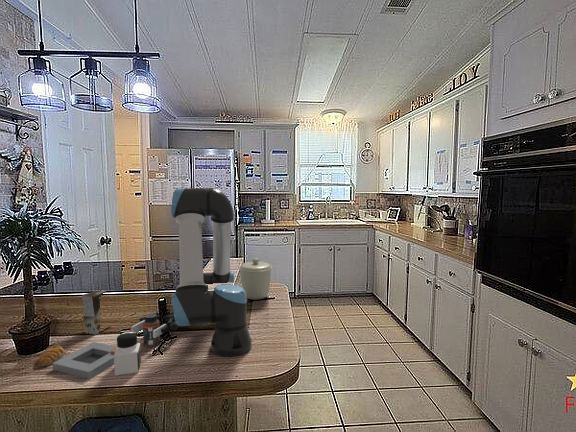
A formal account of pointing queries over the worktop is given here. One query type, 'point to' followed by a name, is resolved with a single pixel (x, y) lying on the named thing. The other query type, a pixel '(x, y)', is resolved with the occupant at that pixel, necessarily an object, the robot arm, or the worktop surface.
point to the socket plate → (87, 360)
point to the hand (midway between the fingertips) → (142, 332)
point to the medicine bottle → (127, 354)
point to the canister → (256, 278)
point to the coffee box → (92, 311)
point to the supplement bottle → (150, 330)
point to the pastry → (51, 355)
